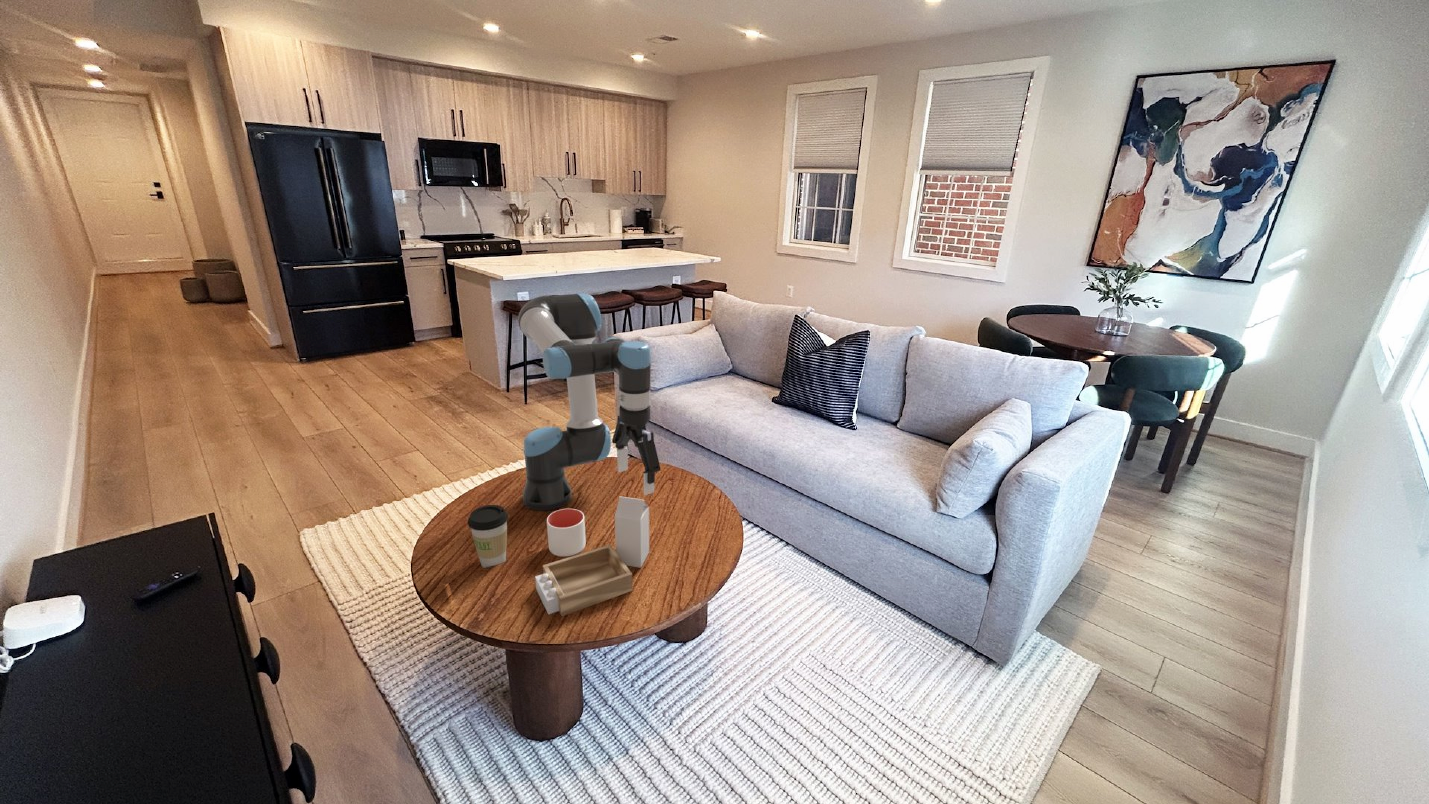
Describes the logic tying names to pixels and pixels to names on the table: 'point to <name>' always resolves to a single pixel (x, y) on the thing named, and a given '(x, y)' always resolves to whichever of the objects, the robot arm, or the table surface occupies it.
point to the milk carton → (632, 531)
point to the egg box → (547, 593)
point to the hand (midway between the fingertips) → (635, 481)
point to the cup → (566, 532)
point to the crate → (589, 578)
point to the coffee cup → (489, 534)
